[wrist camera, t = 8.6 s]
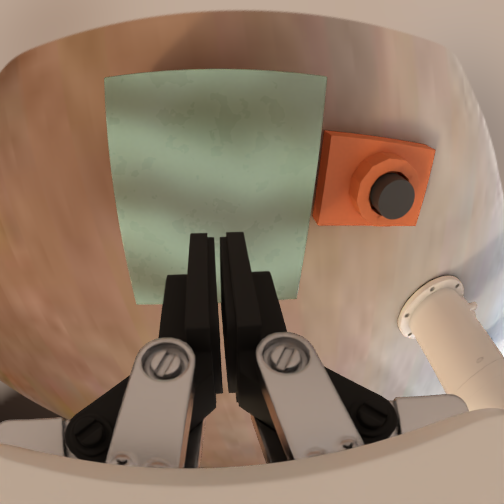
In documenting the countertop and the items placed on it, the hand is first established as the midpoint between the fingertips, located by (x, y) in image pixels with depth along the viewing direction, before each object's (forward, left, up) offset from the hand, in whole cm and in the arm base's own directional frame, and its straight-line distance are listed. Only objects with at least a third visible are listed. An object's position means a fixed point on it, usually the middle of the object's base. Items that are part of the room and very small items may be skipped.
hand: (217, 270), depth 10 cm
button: (-16, +4, -15) cm, 23 cm away
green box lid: (0, +2, -10) cm, 10 cm away
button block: (-16, +4, -19) cm, 25 cm away
